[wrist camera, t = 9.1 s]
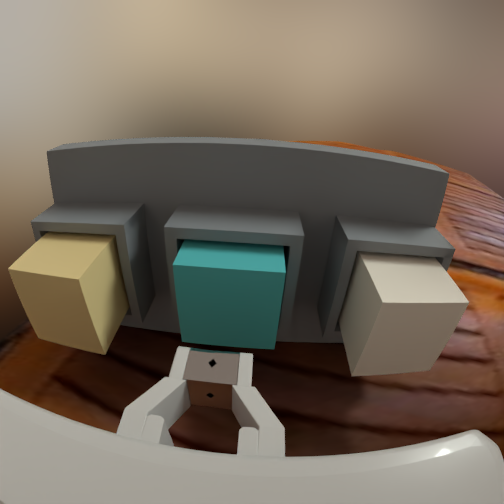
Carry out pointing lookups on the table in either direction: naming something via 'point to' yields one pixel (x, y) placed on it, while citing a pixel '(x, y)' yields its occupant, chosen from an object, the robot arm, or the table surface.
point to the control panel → (245, 215)
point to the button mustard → (73, 289)
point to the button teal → (229, 292)
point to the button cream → (398, 313)
